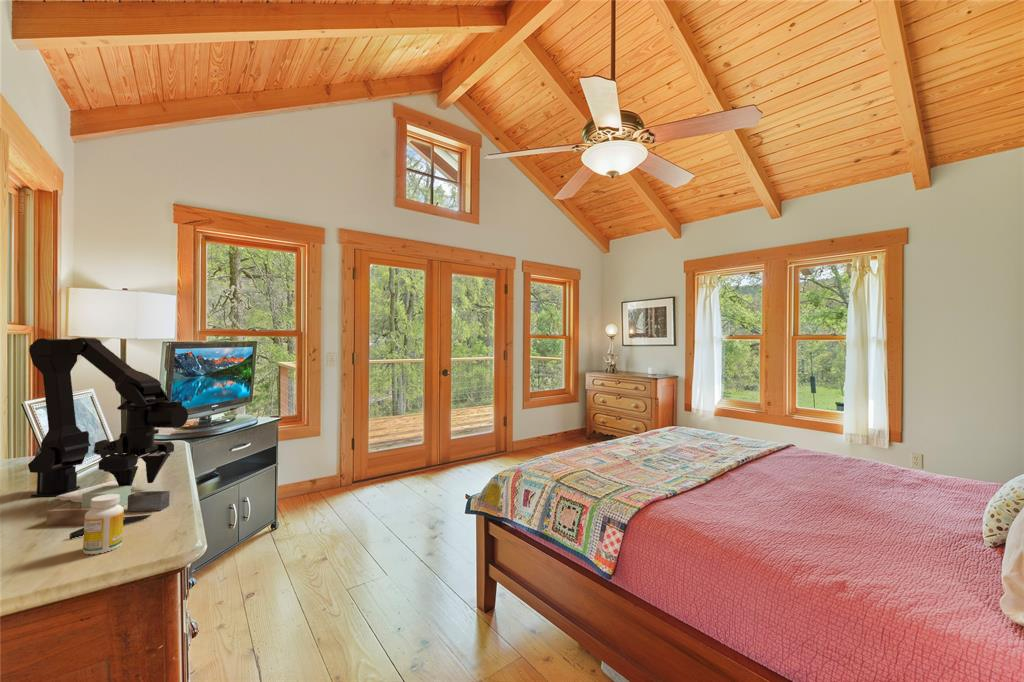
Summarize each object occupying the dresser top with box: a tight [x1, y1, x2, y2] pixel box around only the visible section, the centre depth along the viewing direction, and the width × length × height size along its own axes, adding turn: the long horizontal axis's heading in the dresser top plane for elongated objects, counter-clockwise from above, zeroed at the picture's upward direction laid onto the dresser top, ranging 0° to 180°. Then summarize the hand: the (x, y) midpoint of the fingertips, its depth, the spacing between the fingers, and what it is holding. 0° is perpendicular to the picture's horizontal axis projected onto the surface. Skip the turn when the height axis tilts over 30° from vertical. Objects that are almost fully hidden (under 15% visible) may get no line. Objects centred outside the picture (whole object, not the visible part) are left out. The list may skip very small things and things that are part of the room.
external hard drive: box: [55, 480, 136, 503], centre depth 112 cm, size 2×8×12 cm
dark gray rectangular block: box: [127, 490, 171, 512], centre depth 102 cm, size 7×3×4 cm, turn 98°
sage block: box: [81, 486, 132, 508], centre depth 102 cm, size 6×6×4 cm
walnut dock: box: [46, 502, 92, 526], centre depth 94 cm, size 10×5×3 cm, turn 98°
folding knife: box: [69, 514, 152, 540], centre depth 91 cm, size 13×1×2 cm, turn 147°
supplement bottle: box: [82, 494, 125, 556], centre depth 82 cm, size 5×5×10 cm
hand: (138, 488), depth 111 cm, fingers open, 9 cm apart
